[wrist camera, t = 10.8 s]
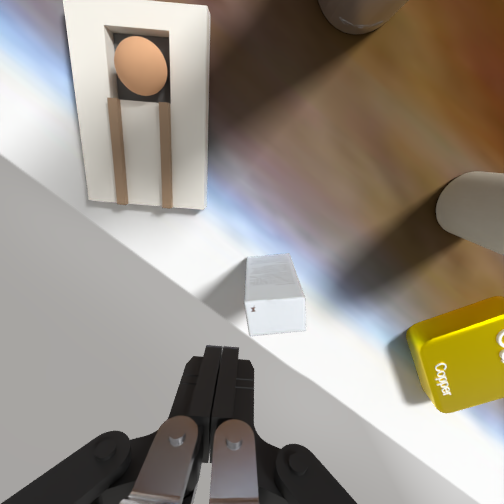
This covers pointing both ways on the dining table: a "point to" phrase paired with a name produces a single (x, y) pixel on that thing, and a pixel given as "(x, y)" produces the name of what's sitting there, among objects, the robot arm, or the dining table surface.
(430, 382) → the element tile
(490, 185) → the travel mug
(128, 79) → the ball
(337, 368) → the dining table surface
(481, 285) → the dining table surface
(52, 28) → the dining table surface
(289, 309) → the skincare box
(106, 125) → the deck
